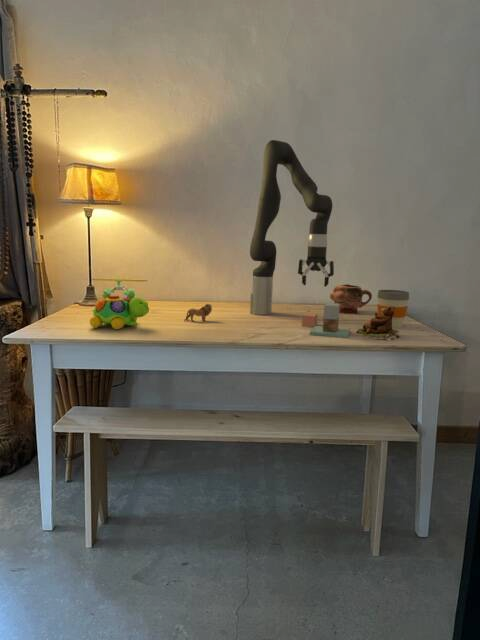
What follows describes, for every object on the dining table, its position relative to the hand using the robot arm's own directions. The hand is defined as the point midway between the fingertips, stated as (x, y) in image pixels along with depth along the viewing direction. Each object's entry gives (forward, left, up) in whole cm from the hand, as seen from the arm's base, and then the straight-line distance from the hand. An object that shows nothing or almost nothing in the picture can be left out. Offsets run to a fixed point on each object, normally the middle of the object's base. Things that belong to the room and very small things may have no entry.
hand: (315, 285), depth 197 cm
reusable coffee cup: (+31, +11, -17) cm, 37 cm away
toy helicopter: (-90, -1, -17) cm, 92 cm away
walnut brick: (+9, -13, -15) cm, 22 cm away
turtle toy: (-70, -33, -17) cm, 80 cm away
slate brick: (+9, -13, -10) cm, 19 cm away
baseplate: (+9, -13, -17) cm, 23 cm away
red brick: (-1, -2, -17) cm, 17 cm away
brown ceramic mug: (+12, +37, -17) cm, 42 cm away
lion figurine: (-46, -12, -17) cm, 51 cm away
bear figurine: (+27, -9, -17) cm, 33 cm away
